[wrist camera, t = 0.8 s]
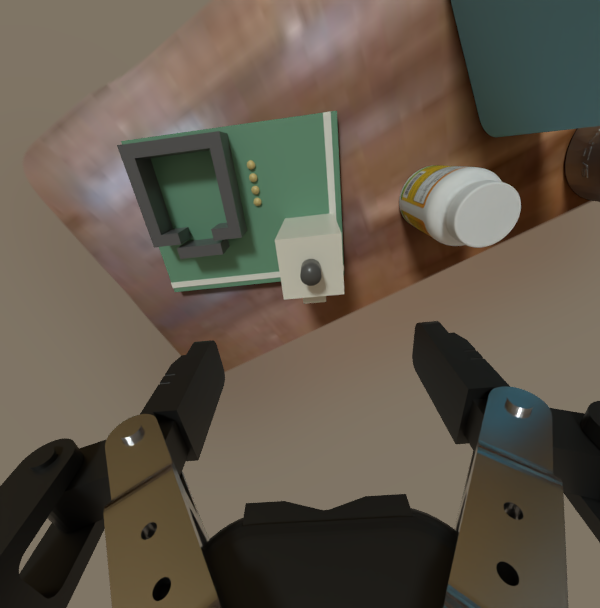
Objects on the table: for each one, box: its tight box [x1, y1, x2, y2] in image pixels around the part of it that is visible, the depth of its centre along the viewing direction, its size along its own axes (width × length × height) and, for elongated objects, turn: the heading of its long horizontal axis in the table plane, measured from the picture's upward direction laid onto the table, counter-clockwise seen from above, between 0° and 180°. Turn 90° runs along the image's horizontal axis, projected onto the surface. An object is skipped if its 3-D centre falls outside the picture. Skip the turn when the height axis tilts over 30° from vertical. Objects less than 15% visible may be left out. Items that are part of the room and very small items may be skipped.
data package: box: [451, 0, 600, 137], centre depth 15 cm, size 12×4×12 cm, turn 30°
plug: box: [275, 213, 344, 304], centre depth 23 cm, size 4×6×10 cm
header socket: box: [117, 131, 262, 259], centre depth 24 cm, size 10×9×2 cm
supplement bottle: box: [399, 166, 521, 248], centre depth 22 cm, size 5×5×10 cm
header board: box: [121, 111, 344, 292], centre depth 26 cm, size 18×14×1 cm
